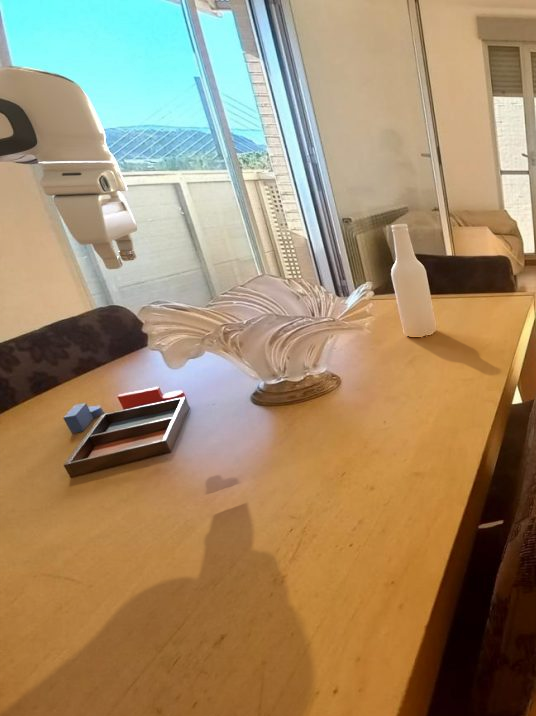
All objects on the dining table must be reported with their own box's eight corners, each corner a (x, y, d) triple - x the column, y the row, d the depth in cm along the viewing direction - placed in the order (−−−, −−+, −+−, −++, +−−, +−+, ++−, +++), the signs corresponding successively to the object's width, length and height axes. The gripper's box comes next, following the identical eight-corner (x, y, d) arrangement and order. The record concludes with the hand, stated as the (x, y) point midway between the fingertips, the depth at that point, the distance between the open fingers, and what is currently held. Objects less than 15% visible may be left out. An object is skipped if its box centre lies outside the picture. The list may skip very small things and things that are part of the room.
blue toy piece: (91, 429, 89) (82, 413, 87) (64, 435, 87) (55, 419, 86) (106, 409, 96) (98, 394, 95) (81, 415, 94) (73, 399, 93)
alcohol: (430, 326, 140) (411, 221, 129) (441, 333, 134) (421, 224, 123) (400, 333, 135) (376, 225, 124) (409, 340, 129) (386, 227, 117)
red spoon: (123, 414, 94) (115, 399, 93) (128, 407, 97) (120, 392, 95) (184, 401, 99) (178, 386, 97) (187, 394, 101) (181, 380, 100)
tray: (70, 477, 75) (63, 465, 74) (107, 425, 90) (101, 414, 89) (171, 452, 81) (165, 440, 80) (189, 407, 96) (185, 396, 95)
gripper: (82, 180, 85) (115, 257, 91) (34, 183, 70) (78, 276, 75) (129, 179, 89) (158, 253, 94) (94, 181, 73) (132, 271, 78)
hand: (123, 264), depth 84 cm, fingers open, 8 cm apart
